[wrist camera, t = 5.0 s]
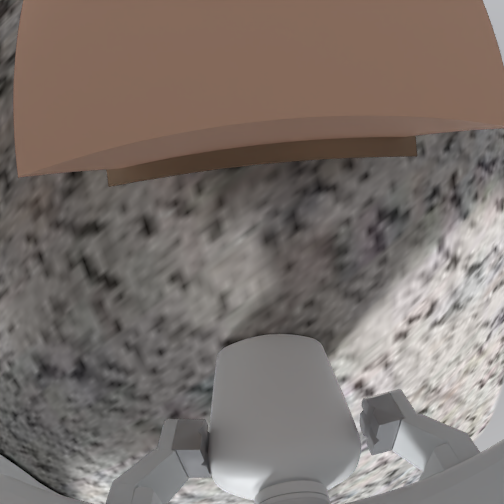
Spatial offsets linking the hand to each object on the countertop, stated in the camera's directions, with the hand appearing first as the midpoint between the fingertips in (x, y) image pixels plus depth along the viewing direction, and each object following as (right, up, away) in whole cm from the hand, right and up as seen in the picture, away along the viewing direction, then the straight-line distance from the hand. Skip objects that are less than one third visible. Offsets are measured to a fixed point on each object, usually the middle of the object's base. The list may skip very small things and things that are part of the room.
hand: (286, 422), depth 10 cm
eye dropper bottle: (0, +1, +6) cm, 6 cm away
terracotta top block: (-1, +14, -3) cm, 14 cm away
